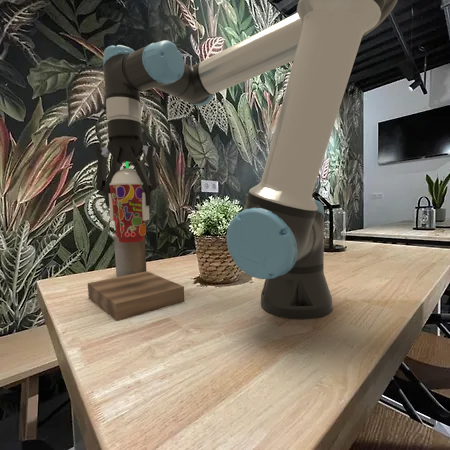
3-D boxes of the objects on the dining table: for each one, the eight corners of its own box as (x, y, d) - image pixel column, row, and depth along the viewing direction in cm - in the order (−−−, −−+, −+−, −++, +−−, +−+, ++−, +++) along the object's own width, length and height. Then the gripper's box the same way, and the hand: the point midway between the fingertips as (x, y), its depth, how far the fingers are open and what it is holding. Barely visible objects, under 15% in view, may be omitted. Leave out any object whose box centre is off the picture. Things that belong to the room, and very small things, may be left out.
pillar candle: (151, 271, 99) (148, 228, 97) (140, 279, 89) (137, 231, 88) (124, 271, 100) (121, 228, 98) (110, 279, 90) (107, 232, 89)
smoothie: (138, 243, 64) (133, 153, 62) (105, 243, 66) (99, 155, 64) (155, 238, 72) (151, 157, 70) (125, 238, 74) (120, 159, 72)
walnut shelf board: (184, 302, 68) (183, 286, 67) (116, 323, 57) (115, 304, 57) (147, 284, 83) (146, 271, 83) (88, 298, 73) (87, 283, 72)
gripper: (170, 124, 69) (174, 218, 72) (90, 127, 70) (97, 220, 73) (162, 115, 62) (167, 220, 64) (73, 119, 63) (81, 222, 65)
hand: (130, 220), depth 68 cm, fingers closed on smoothie, 7 cm apart
